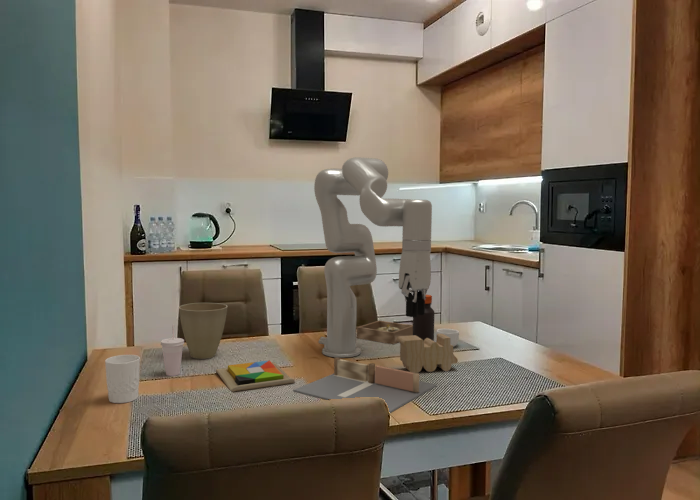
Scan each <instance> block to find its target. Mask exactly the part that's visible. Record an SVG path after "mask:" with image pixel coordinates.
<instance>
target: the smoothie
mask: <svg viewBox="0 0 700 500" xmlns="http://www.w3.org/2000/svg"><path fill="white" fill-rule="evenodd" d="M175 326H176V325H175V324H172V337H170V338H163V339H162V340H160V346H161V349H162V350H161V351H162V355H163V363H164V368H165V369H164V370H165V376H168V377H175V376H179V375H180V374H181V366H182V359H183V358H182V355H183V349H184V348H183V346H184V344H185V338H184V339H183V338H180V337H175V335H176V334H175Z"/></svg>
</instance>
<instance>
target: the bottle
mask: <svg viewBox="0 0 700 500" xmlns="http://www.w3.org/2000/svg"><path fill="white" fill-rule="evenodd" d="M432 303H433V296H432V294H431V295H430V294H426V299H425V314H424V315H418V316H417V317H416V318H415V317H412V325H413V335H416V336H418V337H419V338H421V339H422V340H425V339H426V338H429V339H431V340H432V341H434V342H435V310H434V309H433V308H432Z"/></svg>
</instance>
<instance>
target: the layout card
mask: <svg viewBox="0 0 700 500" xmlns="http://www.w3.org/2000/svg"><path fill="white" fill-rule="evenodd" d="M437 386H438V385H437V384H436V383H431V382H426V381H422V380H419V392H413V391H409V390H404V389H400V388H395V387H391V386H386V385H382V384H377V383H373V384H371V383H368V381H366V382H365V381H360V380H356V379H351V378H347V377H342V376H338V375H334V373H331V374H329V375H327V376H324V377H322V378H319V379H316V380H315V381H312V382H309V383H306V384H304V385H302V386H299V387H297V388H294V389H293V392H295V393H299V394H303V395H307V396H310V397H315V398H318V399H322V400H326V401H329V400H328V399H342V398H355V397H379V398H382V399H384V400H385V402H386V403H387V405H388V408H389V412H390V414H391V413H393V412H395V411H396V410H398V409H400V408H401V407H404V405H407V404H408V403H410V402H412V401H414V400H415V399H417V398H419V397H420V396H422V395H424V394H425V393H427V392H429V391H431V390H432V389H434V388H436V387H437Z"/></svg>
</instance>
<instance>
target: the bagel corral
mask: <svg viewBox="0 0 700 500" xmlns="http://www.w3.org/2000/svg"><path fill="white" fill-rule="evenodd" d="M388 324H389V325H390V327H395V328H398V329H399V330H397V331H395V332H388V331H382V330H376V329H378V328H382V327H386V326H387V325H388ZM389 325H388V326H389ZM399 336H413V324H406V323H400V322H392V321H386V320H381V319H380V320H376V321H373V322H369V323H367V324H366V323H365V324H363V325H359V326H356V339H360V340H365V341H371V342H372V341H373V342H378V343H384V344H389V345H396V344H398V343H399V342H398V340H397V337H399Z"/></svg>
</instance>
